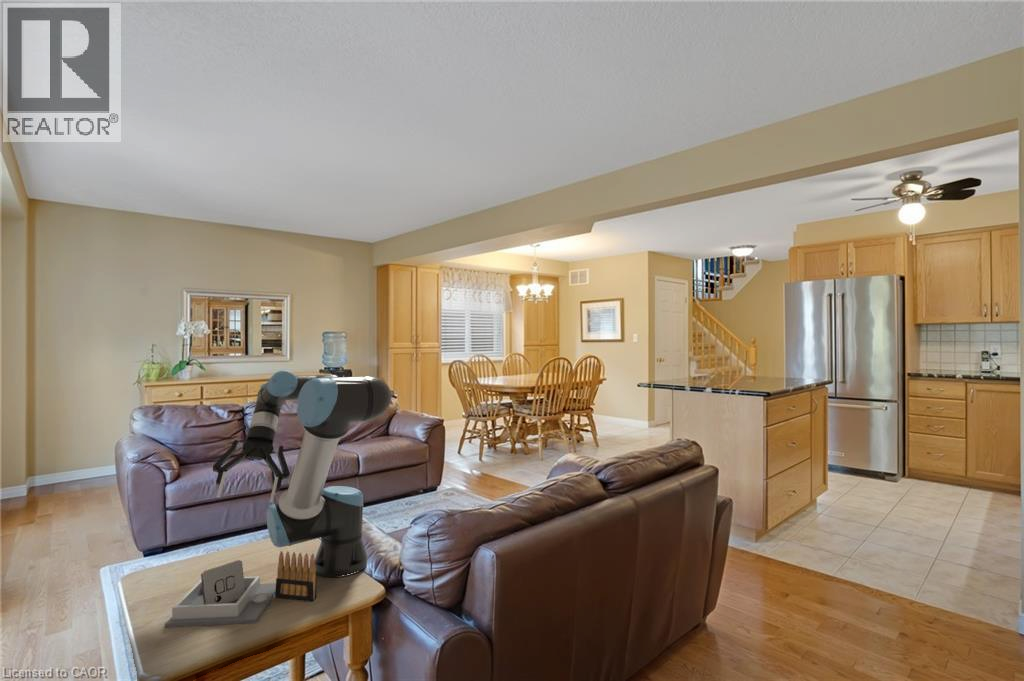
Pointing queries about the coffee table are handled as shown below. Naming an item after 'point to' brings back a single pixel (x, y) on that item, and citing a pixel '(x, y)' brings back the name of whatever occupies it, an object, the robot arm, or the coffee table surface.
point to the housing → (223, 606)
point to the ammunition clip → (296, 578)
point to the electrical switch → (223, 583)
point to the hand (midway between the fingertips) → (245, 498)
